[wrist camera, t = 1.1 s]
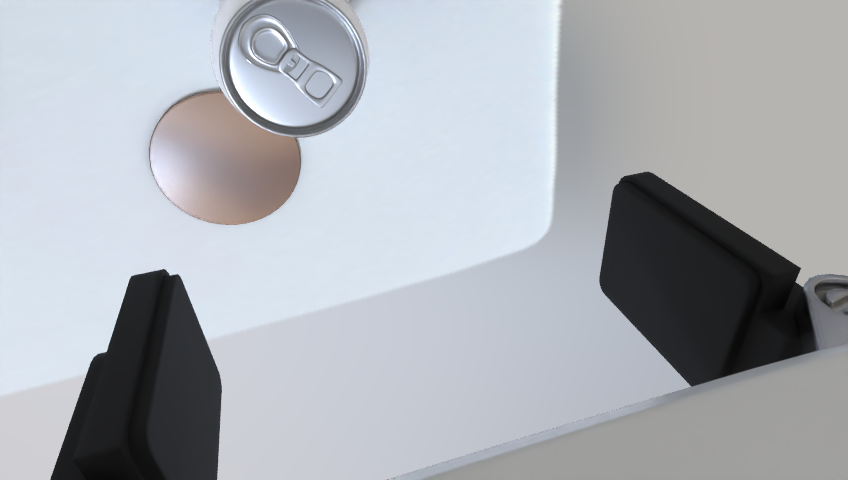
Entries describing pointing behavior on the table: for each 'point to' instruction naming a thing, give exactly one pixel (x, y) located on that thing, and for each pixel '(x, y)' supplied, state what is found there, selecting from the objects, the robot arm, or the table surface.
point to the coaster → (221, 161)
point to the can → (290, 62)
